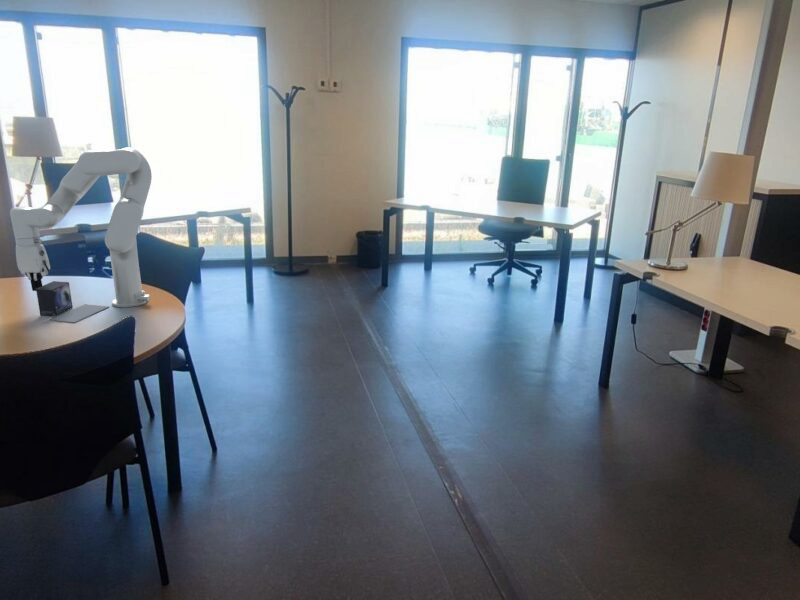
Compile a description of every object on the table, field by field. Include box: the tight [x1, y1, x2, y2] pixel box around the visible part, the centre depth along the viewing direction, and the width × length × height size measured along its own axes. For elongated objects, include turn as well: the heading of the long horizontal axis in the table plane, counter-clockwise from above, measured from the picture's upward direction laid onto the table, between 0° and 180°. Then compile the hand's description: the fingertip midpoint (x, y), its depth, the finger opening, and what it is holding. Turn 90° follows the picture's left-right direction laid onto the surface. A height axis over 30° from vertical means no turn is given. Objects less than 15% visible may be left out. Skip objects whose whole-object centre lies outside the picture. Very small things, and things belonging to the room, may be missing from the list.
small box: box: [35, 280, 73, 317], centre depth 203 cm, size 11×6×10 cm, turn 179°
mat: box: [48, 303, 110, 324], centre depth 203 cm, size 10×18×1 cm, turn 169°
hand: (37, 289), depth 204 cm, fingers closed
